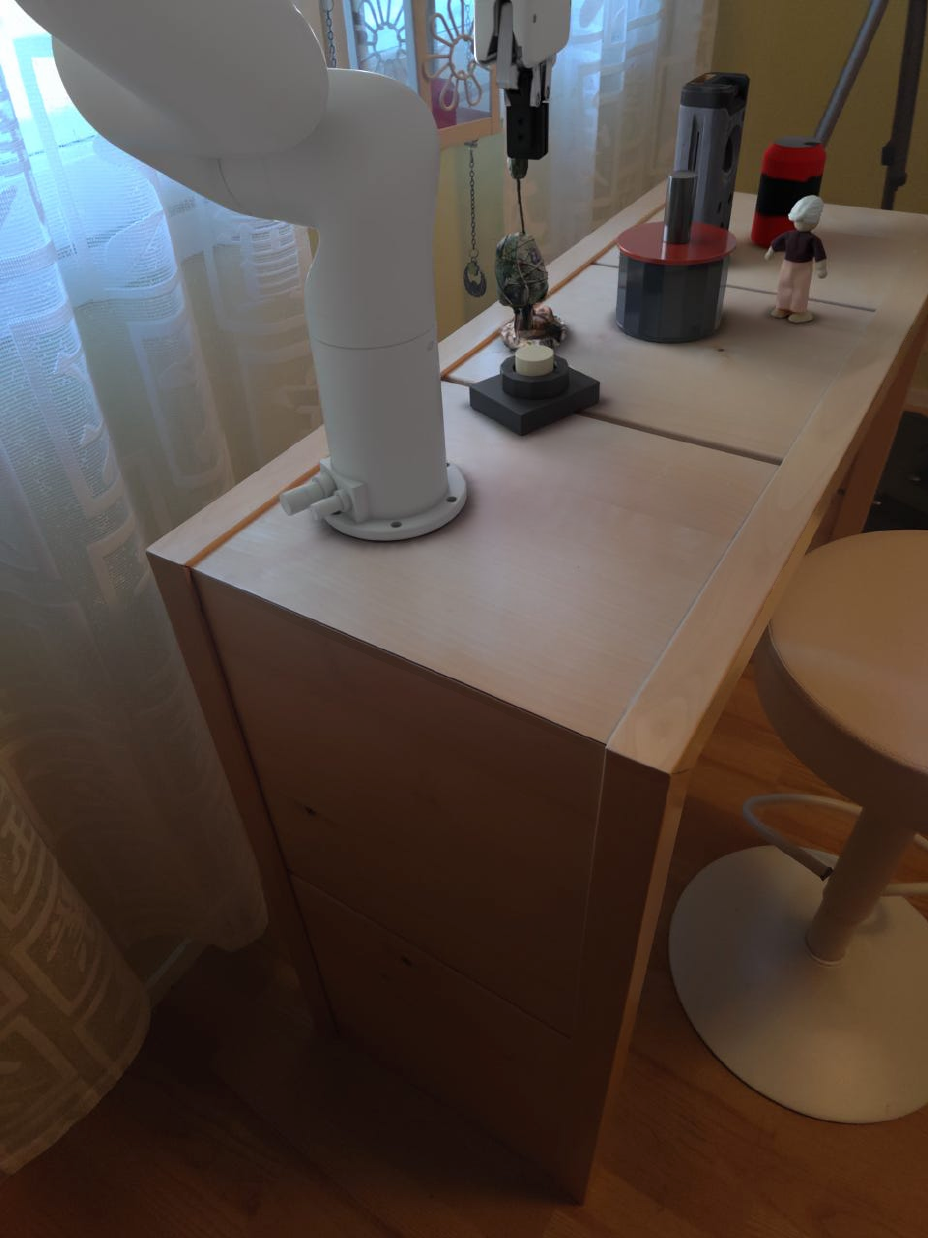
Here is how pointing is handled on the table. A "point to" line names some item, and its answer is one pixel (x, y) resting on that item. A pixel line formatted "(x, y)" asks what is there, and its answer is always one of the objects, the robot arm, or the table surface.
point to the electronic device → (712, 140)
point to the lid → (678, 230)
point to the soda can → (786, 184)
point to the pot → (670, 299)
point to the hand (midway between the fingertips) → (527, 155)
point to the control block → (533, 395)
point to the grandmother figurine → (799, 260)
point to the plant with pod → (524, 284)
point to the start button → (534, 360)
